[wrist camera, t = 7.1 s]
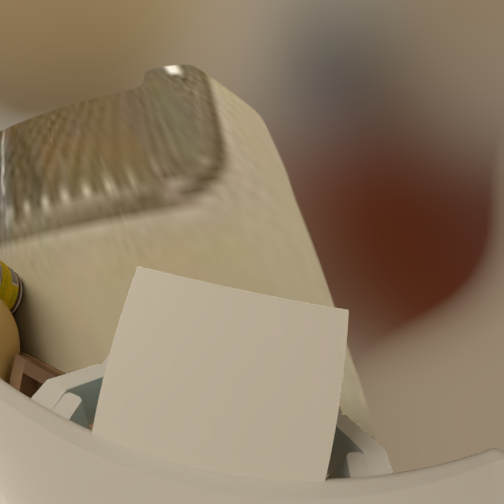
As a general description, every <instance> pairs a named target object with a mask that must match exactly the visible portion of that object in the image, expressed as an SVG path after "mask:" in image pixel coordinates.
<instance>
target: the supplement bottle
mask: <svg viewBox="0 0 504 504" xmlns="http://www.w3.org/2000/svg"><path fill="white" fill-rule="evenodd" d="M21 297H22V283H21V280H20V278H19V276H18V274H17V273H16V272H14V271H13V270H12V269H11V268H9V267H8V266H7V265H6V264H4V263H3V262H2V261H1V260H0V298H1V299H2V301H3V302H4V303H5V304H6V306H7V307H8V308H9V310H10V312H11V313H13V312H14V311H15V310H16V309H17V307H18V306H19V303H20V301H21Z"/></svg>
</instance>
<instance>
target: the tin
mask: <svg viewBox="0 0 504 504" xmlns="http://www.w3.org/2000/svg"><path fill="white" fill-rule="evenodd" d="M348 312H349V310H345V309H339V308H334V307H328V306H323V305H317V304H312V303H306V302H301V301H296V300H290V299H285V298H280V297H275V296H270V295H265V294H260V293H255V292H250V291H245V290H241V289H236V288H231V287H227V286H222V285H217V284H213V283H208V282H204V281H199V280H195V279H191V278H186V277H182V276H178V275H173V274H169V273H165V272H161V271H157V270H152V269H148V268H144V267H140V266H137V269H136V272H135V275H134V277H133V280H132V283H131V286H130V289H129V292H128V295H127V298H126V301H125V304H124V307H123V310H122V313H121V316H120V320H119V323H118V326H117V330H116V333H115V336H114V340H113V343H112V347H111V350H110V354H109V358H108V362H107V366H106V369H105V373H104V378H103V382H102V386H101V390H100V395H99V399H98V404H97V409H96V414H95V419H94V424H93V429H92V434H94V435H96V436H99V437H101V438H103V439H106V440H108V441H111V442H113V443H116V444H118V445H121V446H124V447H126V448H129V449H132V450H135V451H138V452H141V453H144V454H147V455H150V456H153V457H156V458H160V459H163V460H167V461H170V462H174V463H178V464H182V465H186V466H190V467H194V468H199V469H203V470H208V471H213V472H219V473H225V474H231V475H237V476H245V477H253V478H262V479H273V480H288V481H325V479H326V475H327V470H328V465H329V461H330V456H331V451H332V446H333V440H334V435H335V429H336V423H337V417H338V410H339V403H340V396H341V389H342V381H343V372H344V363H345V353H346V342H347V329H348V314H349V313H348Z"/></svg>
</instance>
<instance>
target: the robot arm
mask: <svg viewBox="0 0 504 504" xmlns="http://www.w3.org/2000/svg"><path fill="white" fill-rule="evenodd" d="M108 358H109V355H108V356H107V358H106V359H105V360H104V362H103V363H102V364H101V365H100V364H95V365H92V366H89V367H86V368H83V369H80V370H77V371H74V372H71V373H67V374H64V375H61V376H58V377H54V378H51V379H48V380H46V382H45V383H44V384H43V385H42V386H41V387H40V388H39V390H38V391H37V392H36V393H35V394H34V395H33V396H32V398H29V397H28V396H26V395H24V394H23V393H21V392H20V391H18V390H17V389H15V388H14V387H12V386H11V385H9V384H8V383H6V382H5V381H4V380H2V379H1V378H0V504H504V451H502V450H500V449H498V448H491V449H488V450H486V451H483V452H480V453H477V454H474V455H471V456H468V457H465V458H461V459H458V460H455V461H451V462H447V463H444V464H439V465H435V466H431V467H426V468H422V469H416V470H411V471H405V472H399V473H393V470H392V467H391V464H390V461H389V458H388V455H387V452H386V450H385V449H384V448H383V447H382V446H381V445H379V444H378V443H377V442H376V441H375V440H373V439H372V438H371V437H370V436H369V435H368V434H366V433H365V432H364V431H363V430H362V429H361V428H360V427H358V426H357V425H356V424H355V423H354V422H353V421H352V420H350V419H349V418H348V417H347V416H346V415H342V413H341V409H340V405H339V410H338V417H337V423H336V429H335V435H334V440H333V446H332V451H331V456H330V461H329V465H328V470H327V473H328V474H329V476H328V478H327V479H325V481H288V480H273V479H262V478H253V477H245V476H237V475H231V474H225V473H219V472H213V471H208V470H203V469H199V468H194V467H190V466H186V465H182V464H178V463H174V462H170V461H167V460H163V459H160V458H156V457H153V456H150V455H147V454H144V453H141V452H138V451H135V450H132V449H129V448H126V447H124V446H121V445H118V444H116V443H113V442H111V441H108V440H106V439H103V438H101V437H99V436H96V435H94V434H92V430H90V428H89V425H91V424H93V423H94V419H95V414H96V409H97V404H98V399H99V395H100V390H101V386H102V382H103V378H104V373H105V369H106V366H107V362H108Z"/></svg>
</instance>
